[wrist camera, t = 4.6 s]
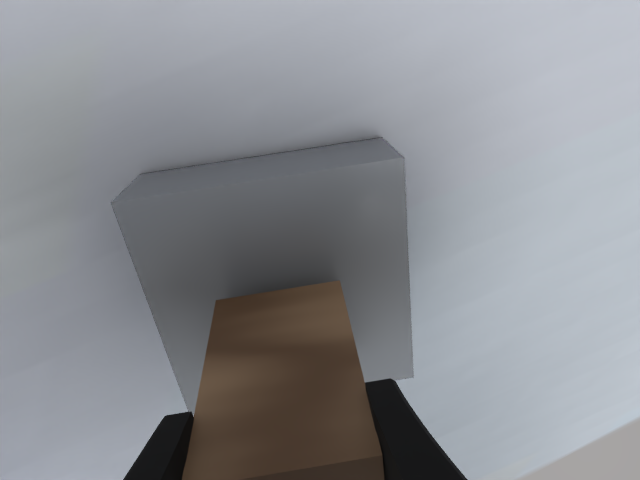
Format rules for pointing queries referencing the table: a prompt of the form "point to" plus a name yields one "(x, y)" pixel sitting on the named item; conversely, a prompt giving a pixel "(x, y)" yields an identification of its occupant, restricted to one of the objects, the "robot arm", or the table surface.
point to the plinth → (275, 245)
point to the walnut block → (283, 392)
